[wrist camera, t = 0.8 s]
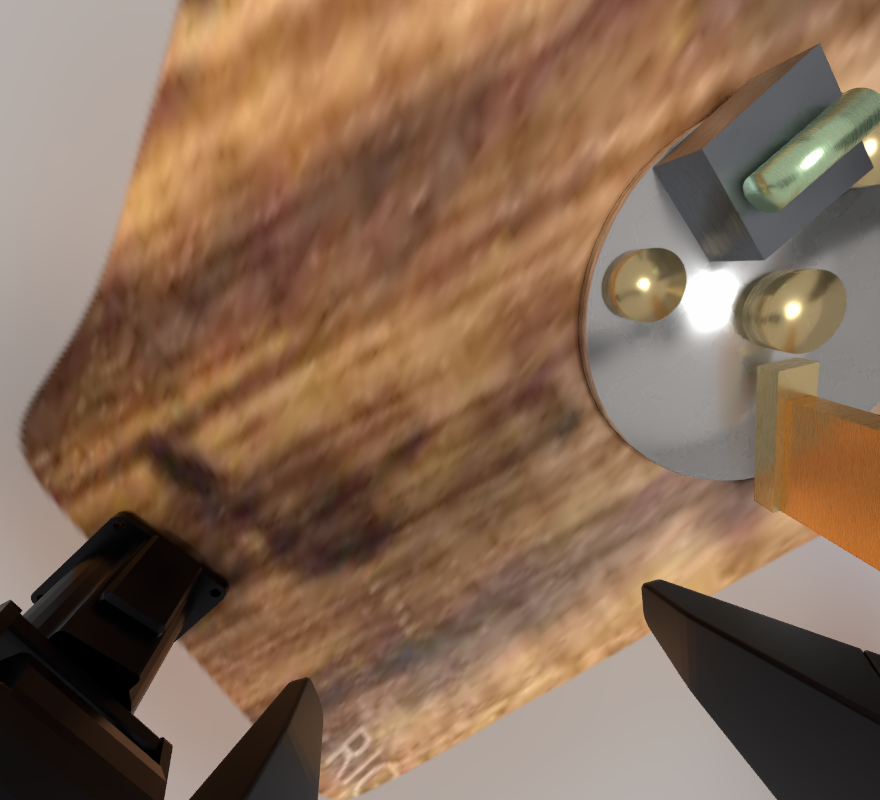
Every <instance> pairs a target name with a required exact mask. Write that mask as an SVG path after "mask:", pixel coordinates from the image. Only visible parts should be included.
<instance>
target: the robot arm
mask: <svg viewBox="0 0 880 800" xmlns="http://www.w3.org/2000/svg"><path fill="white" fill-rule="evenodd" d="M119 521H121V522H123V523H124V524H125V526H122V525H120V523H119ZM228 588H229V587H228V584H227V583H226V582H225V581H224V580H222V579H221V578H219V577H218V576H217V575H215V574H214V573H212V572H211V571H210V570H208V569H207V568H205V567H204V566H203V565H201V564H200V563H198V562H197V561H196V560H194V559H193V558H191V557H190V556H189V555H187V554H186V553H184V552H183V551H182V550H180V549H179V548H177V547H176V546H175V545H173V544H172V543H170V542H169V541H168V540H166V539H165V538H163V537H162V536H161V535H159V534H158V533H156V532H155V531H154V530H152V529H151V528H149V527H148V526H147V525H145V524H144V523H142V522H141V521H140V520H138V519H137V518H135V517H134V516H133V515H131V514H129V513H126V512H120V513H118V514H116V515H115V516H113V517H112V518H111V519H110V520H109V521H108V522H107V523H106V524H105V525H104V526H103V527H102V528H101V529H100V530H99V531H98V532H97V533H95V534H94V535H93V536H92V537H91V538H90V539H89V540H88V541H87V542H86V543H85V544H84V545H83V546H82V547H81V548H80V549H79V550H78V551H77V552H76V553H75V554H73V555H72V556H71V557H70V558H69V559H68V560H67V561H66V562H65V563H64V564H63V565H62V566H61V567H60V568H59V569H58V570H57V571H56V572H55V573H53V575H51V576H50V577H49V578H48V579H47V580H46V581H45V582H44V583H43V584H42V585H41V586H40V587H39V588H38V589H37V590H36V591H35V592H34V593H33V594H32V595H31V600H32V602H33V603H34V605H33V606H32V607H31V608H30V609H29V610H28V611H27V612H26V613H25V614H24V615H23V616H22V615H21V614H20V613H21V611H22V610H21V609H20V608H19V607H18V606H17V605H16V604H15V603H14V602H13V601H11V600H9V601H7V602H5V603H3V604H1V605H0V800H164V797H165V790H166V784H167V778H168V772H169V766H170V759H171V754H172V744H170V743H169V742H168V741H167V740H166V739H165V738H164V737H162V738H159V737H158V736H156V735H155V734H154V733H153V732H152V731H151V730H150V729H149V728H148V727H146V726H145V725H144V724H143V723H142V722H141V721H140V720H139V719H138V718H136V717H135V716H134V715H133V714H134V712H135V710H136V708H137V707H138V705H139V703H140V701H141V700H142V698H143V696H144V695H145V693H146V691H147V689H148V687H149V686H150V684H151V682H152V680H153V679H154V677H155V675H156V673H157V671H158V670H159V668H160V666H161V664H162V663H163V661H164V659H165V657H166V655H167V654H168V652H169V650H170V648H171V647H172V645H173V643H174V642H175V641H176V640H177V639H179V638H180V637H181V636H182V635H183V634H184V633H185V632H186V631H188V630H189V629H190V628H191V627H192V626H193V625H194V624H195V623H197V622H198V621H199V620H200V619H201V618H202V617H203V616H204V615H206V614H207V613H208V612H209V611H210V610H211V609H212V608H213V607H215V606H216V605H217V604H218V603H219V602H220V601H221V600H222V599H223V598H224V597H225V596H226V594H227V592H228ZM214 589H218V590H219V591H220V592H217V591H215V590H214ZM642 600H643V612H644V617H645V620H646V623H647V625H648V627H649V628H650V630H651V631H652V633H653V634H654V636H655V637H656V639H657V640H658V642H659V644H660V645H661V646H662V648H663V650H664V651H665V653H666V654H667V656H668V658H669V659H670V660H671V662H672V664H673V665H674V667H675V668H676V670H677V671H678V673H679V674H680V676H681V678H682V679H683V681H684V682H685V683H686V684H687V686H688V688H689V689H690V691H691V692H692V693H693V694H694V696H695V697H696V699H697V700H698V701H699V702H700V704H701V705H702V706H703V707H704V709H705V710H706V711H707V712H708V714H709V715H710V716H711V717H712V718H713V720H714V721H715V722H716V724H717V725H718V726H719V728H720V729H721V730H722V731H723V733H724V734H725V735H726V736H727V738H728V739H729V740H730V741H731V743H732V744H733V745H734V746H735V748H736V749H737V750H738V751H739V752H740V754H741V755H742V756H743V758H744V759H745V760H746V761H747V763H748V764H749V765H750V766H751V768H752V769H753V770H754V771H755V773H756V774H757V775H758V776H759V778H760V779H761V780H762V781H763V783H764V784H765V785H766V786H767V787H768V789H769V790H770V791H771V793H772V794H773V795H774V796H775V798H776V799H777V800H880V655H879V654H876V653H873V652H871V651H867V650H866V651H864V652H863V651H862V650H861V649H860V648H857V647H854V646H851V645H848V644H845V643H842V642H839V641H837V640H834V639H831V638H828V637H825V636H822V635H819V634H816V633H814V632H811V631H808V630H805V629H802V628H799V627H796V626H793V625H790V624H788V623H785V622H782V621H779V620H776V619H773V618H770V617H767V616H765V615H762V614H759V613H756V612H753V611H750V610H747V609H744V608H742V607H739V606H735V605H733V604H730V603H727V602H724V601H721V600H719V599H716V598H713V597H710V596H707V595H704V594H701V593H698V592H695V591H693V590H690V589H687V588H684V587H681V586H678V585H675V584H672V583H670V582H667V581H664V580H654V581H651V582H647V583H644V584H643V585H642ZM322 732H323V710H322V705H321V703H320V700H319V698H318V695H317V693H316V690H315V688H314V685H313V683H312V681H311V679H310V678H307V677H306V678H302V679H299V680H295V681H292V682H290V683H289V684H288V685H287V686H286V687H285V688H284V689H283V690H282V692H281V693H280V694H279V695H278V696H277V697H276V699H275V700H274V701H273V702H272V703H271V704H270V706H269V707H268V708H267V709H266V710H265V711H264V713H263V714H262V715H261V716H260V717H259V719H258V720H257V721H256V722H255V723H254V724H253V726H252V727H251V728H250V729H249V730H248V731H247V733H246V734H245V735H244V736H243V737H242V738H241V740H240V741H239V742H238V743H237V744H236V745H235V747H234V748H233V749H232V750H231V751H230V753H229V754H228V755H227V756H226V757H225V758H224V759H223V761H222V762H221V763H220V764H219V765H218V767H217V768H216V769H215V770H214V771H213V773H212V774H211V775H210V776H209V777H208V778H207V779H206V781H205V782H204V783H203V784H202V785H201V787H200V788H199V789H198V790H197V791H196V792H195V793H194V795H193V796H192V797H191V798H190V799H189V800H318V790H319V777H320V762H321V747H322Z"/></svg>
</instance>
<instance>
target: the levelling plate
mask: <svg viewBox="0 0 880 800" xmlns="http://www.w3.org/2000/svg"><path fill="white" fill-rule="evenodd" d="M783 269H823V270H827V271H830V272H832V273H834V274H835V275H836V276H838V277H839V279H840V280H841V281H842V283H843V285H844V287H845V290H846V296H847V305H846V311H845V315H844V317H843V320H842V322H841V324H840V326H839V328H838V329H837V331H836V332H835V333H834V335H833V336H832V337H831V338H830V339H829V340H828V341H827V342H826V343H825V344H823V345H822V346H821V347H819V348H817V349H815V350H813V351H811V352H808V353H803V354H792V353H787V352H782V351H777V350H772V349H768V348H763V347H759V346H757V345H755V344H754V343H752V342H751V341H750V340H749V338H748V337H747V335H746V334H745V331H744V328H743V324H742V313H743V308H744V304H745V302H746V299H747V297H748V295H749V293H750V292H751V290H752V289H753V288H754V286H755V285H756V284H757V283H758V282H759V281H760V280H761V279H763V278H764V277H765V276H767V275H769V274H770V273H773V272H775V271H778V270H783ZM578 325H579V347H580V353H581V359H582V365H583V370H584V373H585V376H586V380H587V383H588V386H589V389H590V392H591V394H592V396H593V398H594V400H595V402H596V404H597V406H598V408H599V410H600V411H601V413H602V414H603V416H604V417H605V419H606V420H607V422H608V423H609V424H610V426H611V427H612V428H613V429H614V430H615V431H616V432H617V433H618V434H619V436H620V437H621V438H622V439H623V440H624V441H626V442H627V443H628V444H629V445H631V446H632V447H633V448H635V449H636V450H637V451H638V452H640V453H641V454H643V455H644V456H645V457H647V458H648V459H650V460H651V461H653V462H655V463H657V464H659V465H660V466H662V467H664V468H666V469H668V470H671V471H674V472H676V473H679V474H682V475H685V476H689V477H694V478H699V479H704V480H719V481H729V480H744V479H749V478H754V477H755V440H756V395H757V366H759V365H763V364H768V363H772V362H776V361H780V360H784V359H789V358H793V357H799V358H804V359H809V360H813V361H818V362H819V374H818V389H817V397H819V398H823V399H826V400H830V401H833V402H836V403H840V404H843V405H847V406H850V407H853V408H857V409H860V410H864V411H867V412H870V411H871V410H872V409H873V408H874V407H875V406H876V405H877V404H878V402H879V401H880V94H878V93H877V92H875V91H874V90H871V89H868V88H855V89H851V90H849V91H847V92H845V93H841V91H840V88H839V86H838V84H837V81H836V79H835V77H834V75H833V72H832V70H831V68H830V65H829V63H828V61H827V59H826V56H825V54H824V52H823V49H822V47H821V45H820V43H819V44H817V45H815V46H814V47H812V48H810V49H808V50H806V51H804V52H802V53H800V54H798V55H796V56H794V57H792V58H790V59H788V60H787V61H785V62H783V63H781V64H779V65H777V66H775V67H773V68H771V69H769V70H767V71H765V72H763V73H762V74H760V75H758V76H756V77H754V78H752V79H750V80H749V81H748V82H747V83H745V84H744V85H743V86H742V87H741V88H740V89H739V90H738V91H737V92H736V93H734V94H733V95H732V96H731V97H730V98H729V99H728V100H727V101H726V102H724V103H723V104H722V105H721V106H720V107H719V108H718V109H717V110H716V111H715V112H713V113H712V114H711V115H710V116H709V117H708V118H706V119H704V120H703V121H701V122H699V123H698V124H696V125H694V126H693V127H691V128H690V129H688V130H686V131H685V132H683V133H682V134H680V135H679V136H678V137H677V138H675V139H674V140H673V141H672V142H670V143H669V144H668V145H667V146H665V147H664V148H663V149H662V150H660V151H659V152H658V153H657V154H656V155H655V156H654V157H653V158H652V159H651V160H650V161H649V162H648V163H647V164H646V165H645V167H644V168H643V169H642V170H641V171H640V172H639V173H638V174H637V175H636V177H635V178H634V179H633V181H632V182H631V183H630V184H629V186H628V187H627V188H626V190H625V191H624V192H623V193H622V195H621V196H620V198H619V200H618V201H617V203H616V205H615V206H614V208H613V210H612V211H611V213H610V214H609V216H608V218H607V219H606V222H605V224H604V226H603V228H602V230H601V232H600V235H599V237H598V239H597V241H596V243H595V245H594V248H593V251H592V254H591V257H590V260H589V264H588V267H587V270H586V273H585V278H584V283H583V288H582V293H581V298H580V310H579V322H578Z"/></svg>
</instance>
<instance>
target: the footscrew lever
mask: <svg viewBox="0 0 880 800" xmlns="http://www.w3.org/2000/svg"><path fill="white" fill-rule="evenodd" d="M846 305H847V296H846V290H845V287H844V285H843V283H842V281H841V280H840V279H839V277H838V276H836V275H835V274H834V273H832V272H830V271H827V270H823V269H783V270H778V271H775V272H773V273H770V274H769V275H767V276H765V277H764V278H763V279H761V280H760V281H759V282H758V283H757V284H756V285H755V286H754V288H753V289H752V290H751V292H750V293H749V295H748V297H747V299H746V302H745V304H744V308H743V313H742V324H743V328H744V331H745V334H746V335H747V337H748V338H749V340H750V341H751V342H752V343H754V344H755V345H757V346H759V347H763V348H768V349H772V350H777V351H782V352H787V353H792V354H803V353H808V352H811V351H813V350H815V349H817V348H819V347H821V346H822V345H823V344H825V343H826V342H827V341H828V340H829V339H830V338H831V337H832V336H833V335H834V333H835V332H836V331H837V329H838V328H839V326H840V324H841V322H842V320H843V317H844V315H845V311H846ZM818 374H819V362H818V361H813V360H809V359H804V358H799V357H793V358H789V359H784V360H780V361H776V362H772V363H768V364H763V365H759V366H757V395H756V440H755V485H754V501H755V502H757V503H759V504H760V505H762V506H763V507H765V508H767V509H768V510H770V511H771V512H773V513H774V512H778V511H782V512H783V513H785V514H787V515H788V516H790V517H792V518H793V519H795V520H797V521H798V522H800V523H802V524H803V525H805V526H806V527H808V528H810V529H811V530H813V531H815V532H816V533H818V534H820V535H821V536H823V537H825V538H826V539H828V540H830V541H831V542H833V543H834V544H836V545H838V546H839V547H841V548H843V549H844V550H846V551H848V552H849V553H851V554H853V555H854V556H856V557H858V558H859V559H861V560H863V561H864V562H866V563H867V564H869V565H871V566H872V567H874V568H876V569H877V570H879V571H880V415H877V414H874V413H870V412H867V411H864V410H860V409H857V408H853V407H850V406H847V405H843V404H840V403H836V402H833V401H830V400H826V399H823V398H819V397H817V389H818Z"/></svg>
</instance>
